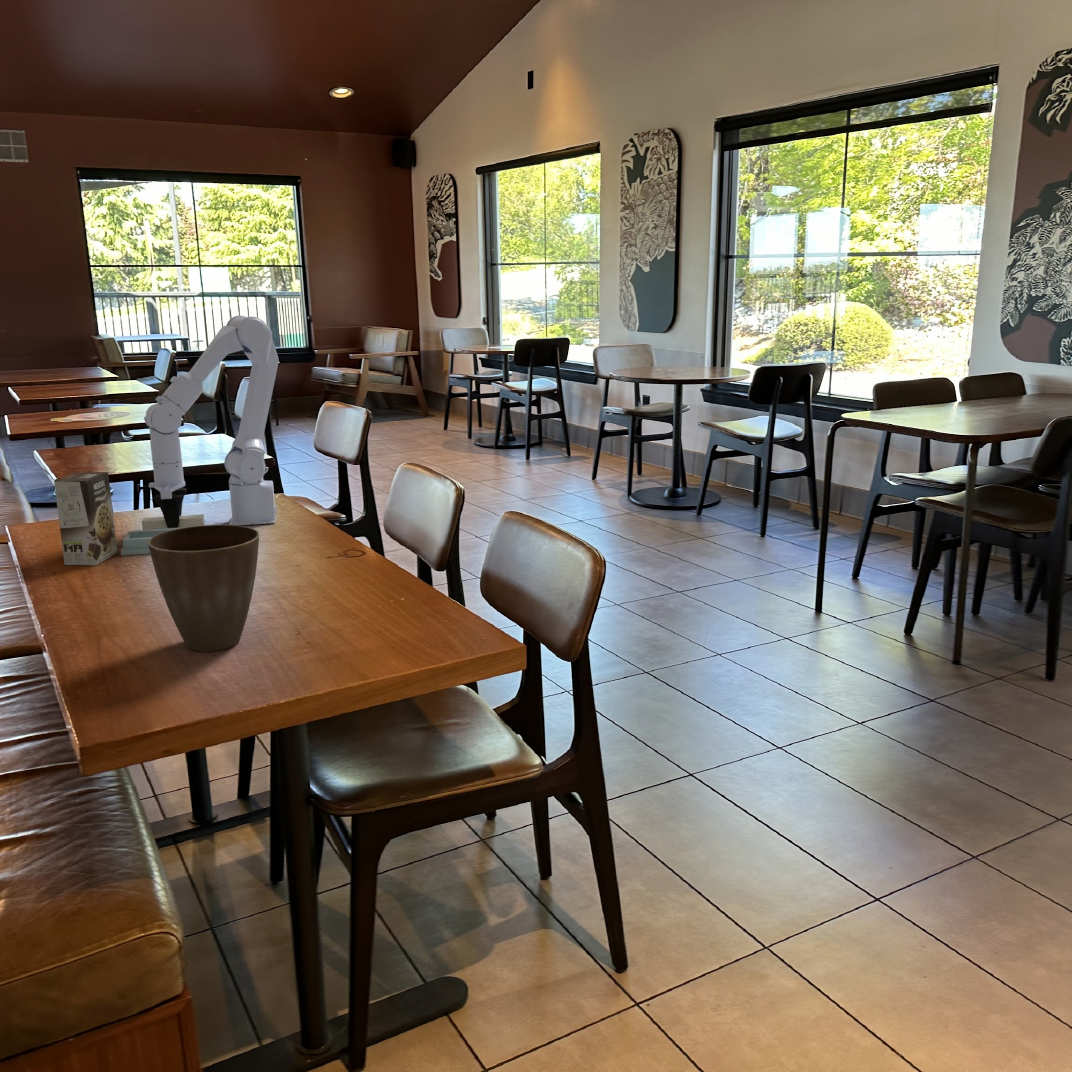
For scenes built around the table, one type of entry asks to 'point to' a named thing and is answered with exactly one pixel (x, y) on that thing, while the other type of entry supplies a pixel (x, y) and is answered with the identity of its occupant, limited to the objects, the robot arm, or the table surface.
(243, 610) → the plant pot
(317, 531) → the table surface
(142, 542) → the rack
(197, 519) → the beige rectangular block
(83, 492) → the food box
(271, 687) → the table surface
